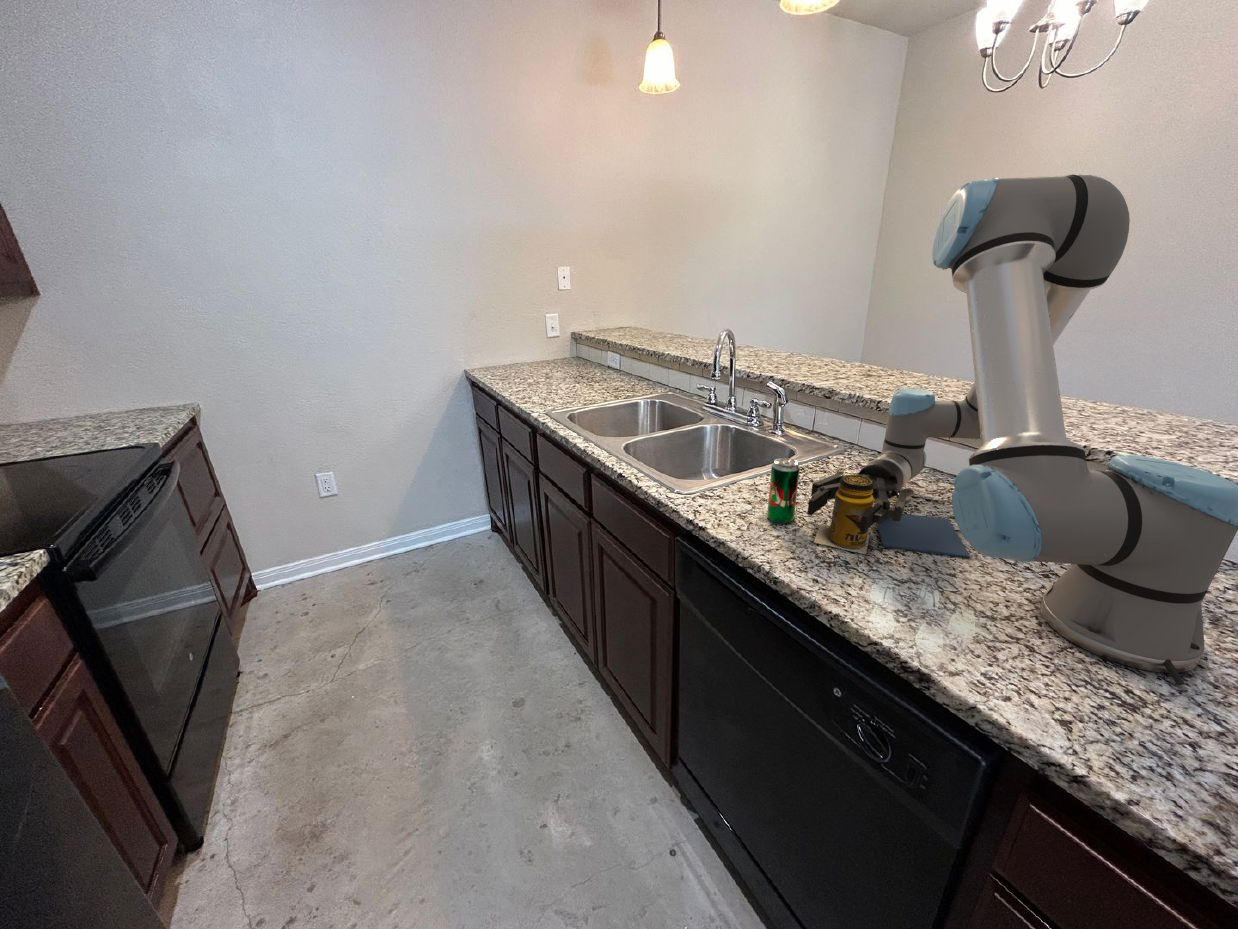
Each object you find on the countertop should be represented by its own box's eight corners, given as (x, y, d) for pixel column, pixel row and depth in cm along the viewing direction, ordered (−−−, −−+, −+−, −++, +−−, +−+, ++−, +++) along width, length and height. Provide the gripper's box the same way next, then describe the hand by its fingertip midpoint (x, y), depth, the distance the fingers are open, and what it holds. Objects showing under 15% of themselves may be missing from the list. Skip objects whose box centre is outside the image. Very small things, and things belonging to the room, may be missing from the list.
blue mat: (969, 558, 83) (970, 556, 83) (882, 546, 87) (883, 544, 87) (947, 520, 95) (948, 518, 95) (872, 512, 99) (873, 510, 99)
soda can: (790, 513, 100) (797, 457, 95) (796, 525, 95) (803, 466, 91) (764, 512, 100) (769, 456, 96) (769, 524, 95) (774, 466, 91)
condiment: (865, 555, 85) (877, 490, 80) (813, 543, 89) (821, 481, 84) (869, 536, 90) (880, 475, 86) (820, 525, 94) (828, 467, 90)
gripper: (939, 510, 93) (899, 557, 78) (828, 480, 107) (776, 516, 92) (948, 472, 91) (908, 515, 76) (833, 447, 105) (780, 479, 90)
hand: (835, 515), depth 84 cm, fingers open, 8 cm apart
